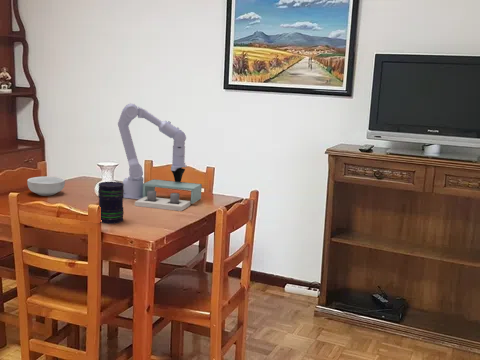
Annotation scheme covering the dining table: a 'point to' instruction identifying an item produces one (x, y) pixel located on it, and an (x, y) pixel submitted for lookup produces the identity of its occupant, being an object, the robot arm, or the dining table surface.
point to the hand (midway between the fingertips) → (177, 183)
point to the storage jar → (111, 202)
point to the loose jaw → (151, 196)
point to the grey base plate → (162, 204)
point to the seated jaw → (174, 198)
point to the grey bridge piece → (174, 187)
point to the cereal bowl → (46, 185)
